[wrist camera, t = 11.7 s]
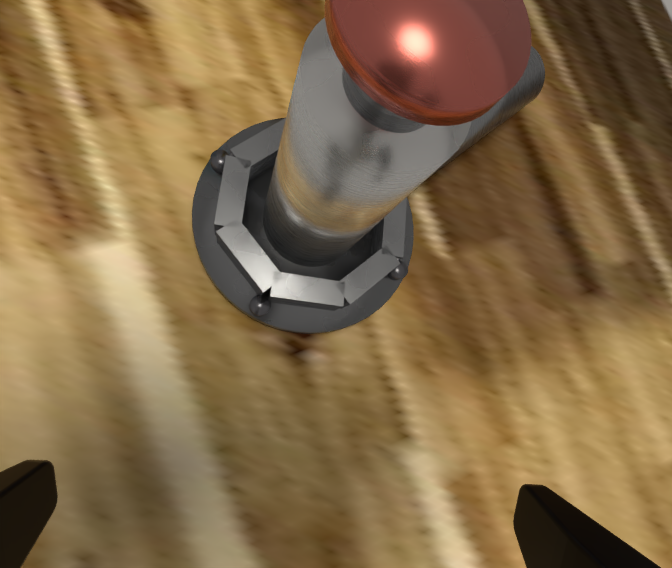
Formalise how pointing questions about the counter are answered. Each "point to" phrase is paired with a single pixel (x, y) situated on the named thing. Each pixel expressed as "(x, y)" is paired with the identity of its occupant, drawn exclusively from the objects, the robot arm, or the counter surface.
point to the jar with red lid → (383, 112)
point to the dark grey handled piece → (299, 281)
